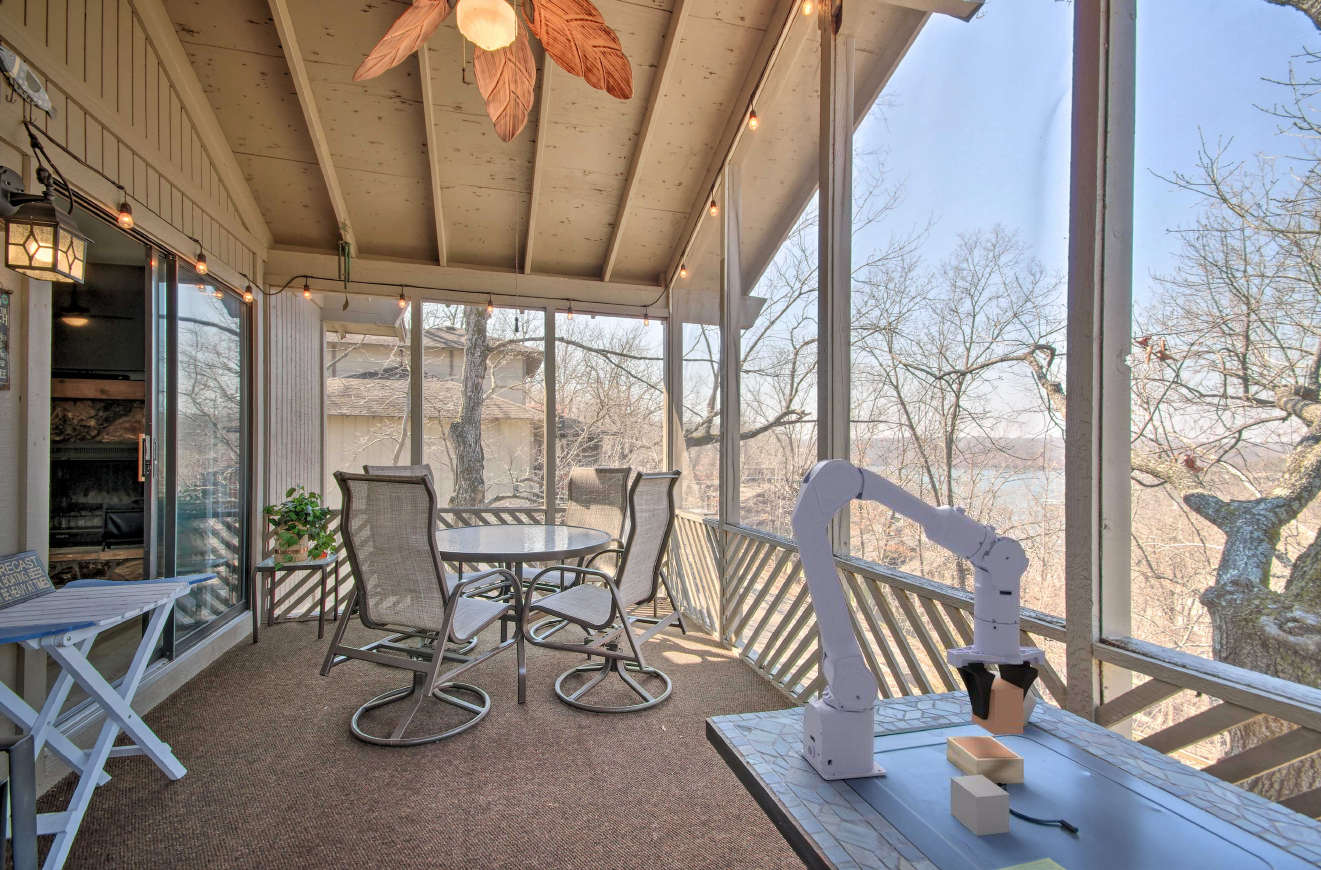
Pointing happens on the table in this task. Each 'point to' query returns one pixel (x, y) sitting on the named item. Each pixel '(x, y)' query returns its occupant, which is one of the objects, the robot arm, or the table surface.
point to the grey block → (980, 804)
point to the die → (1027, 704)
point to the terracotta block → (1003, 709)
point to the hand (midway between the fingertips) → (995, 715)
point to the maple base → (985, 759)
